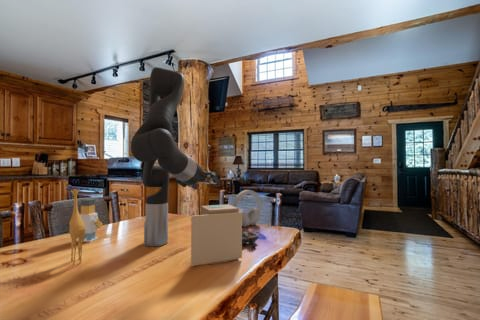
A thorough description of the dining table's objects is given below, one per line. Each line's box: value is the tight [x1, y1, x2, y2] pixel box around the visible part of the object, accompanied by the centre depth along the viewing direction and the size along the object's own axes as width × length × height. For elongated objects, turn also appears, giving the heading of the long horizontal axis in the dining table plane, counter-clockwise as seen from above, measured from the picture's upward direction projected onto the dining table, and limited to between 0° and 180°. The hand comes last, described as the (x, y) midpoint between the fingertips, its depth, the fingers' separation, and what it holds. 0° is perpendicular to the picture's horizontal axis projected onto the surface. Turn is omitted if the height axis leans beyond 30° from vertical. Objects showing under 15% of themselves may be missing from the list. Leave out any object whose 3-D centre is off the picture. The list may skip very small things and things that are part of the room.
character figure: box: [79, 198, 103, 243], centre depth 114 cm, size 8×10×18 cm
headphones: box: [232, 189, 262, 228], centre depth 142 cm, size 19×8×20 cm, turn 127°
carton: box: [200, 203, 240, 265], centre depth 94 cm, size 11×10×18 cm
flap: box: [190, 212, 243, 267], centre depth 87 cm, size 18×1×16 cm, turn 115°
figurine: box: [242, 229, 259, 250], centre depth 116 cm, size 13×6×30 cm
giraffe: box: [68, 187, 86, 266], centre depth 90 cm, size 16×4×25 cm, turn 39°
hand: (207, 185), depth 93 cm, fingers open, 8 cm apart
